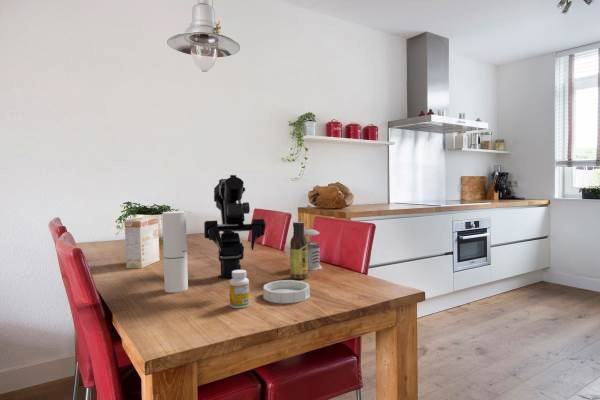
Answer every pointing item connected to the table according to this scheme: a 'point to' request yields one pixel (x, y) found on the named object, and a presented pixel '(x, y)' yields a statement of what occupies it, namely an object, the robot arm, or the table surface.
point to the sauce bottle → (298, 252)
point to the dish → (286, 291)
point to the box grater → (312, 248)
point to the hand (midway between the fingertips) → (237, 250)
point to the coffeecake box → (141, 242)
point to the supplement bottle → (239, 289)
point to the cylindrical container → (175, 251)
